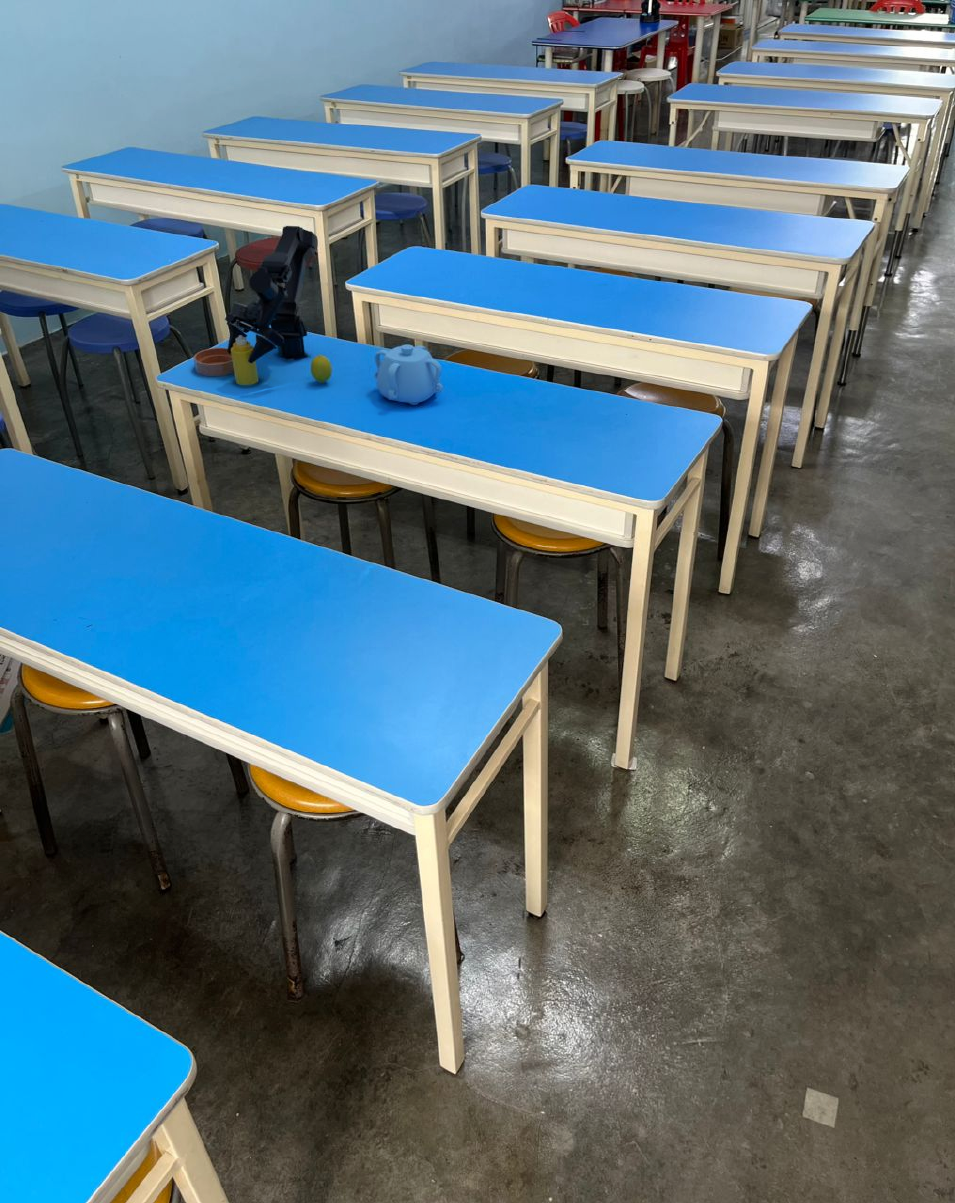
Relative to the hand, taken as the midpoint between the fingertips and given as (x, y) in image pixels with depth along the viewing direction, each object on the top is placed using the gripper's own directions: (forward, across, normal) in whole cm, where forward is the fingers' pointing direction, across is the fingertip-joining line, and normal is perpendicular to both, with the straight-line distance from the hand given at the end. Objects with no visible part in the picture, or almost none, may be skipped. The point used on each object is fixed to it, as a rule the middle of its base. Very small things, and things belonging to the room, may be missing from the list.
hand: (239, 357), depth 249 cm
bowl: (+4, -13, +6) cm, 15 cm away
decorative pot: (-13, +38, +23) cm, 46 cm away
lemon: (-5, +15, +16) cm, 23 cm away
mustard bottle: (+4, 0, +6) cm, 8 cm away
